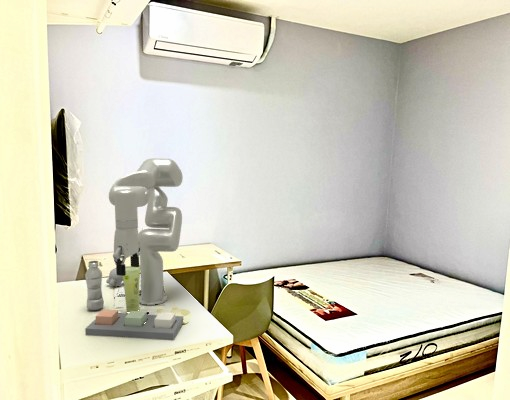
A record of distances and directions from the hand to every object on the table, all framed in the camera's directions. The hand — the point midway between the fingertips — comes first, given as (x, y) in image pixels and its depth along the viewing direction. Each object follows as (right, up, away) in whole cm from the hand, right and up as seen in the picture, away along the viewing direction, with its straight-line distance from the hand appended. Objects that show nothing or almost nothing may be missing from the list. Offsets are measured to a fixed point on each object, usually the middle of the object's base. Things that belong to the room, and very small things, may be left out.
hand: (128, 270), depth 147 cm
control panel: (+1, -22, +5) cm, 23 cm away
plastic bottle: (-20, -20, +22) cm, 36 cm away
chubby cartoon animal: (-19, -16, +50) cm, 55 cm away
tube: (-4, -20, +20) cm, 29 cm away
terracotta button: (-10, -20, +6) cm, 23 cm away
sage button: (+1, -20, +5) cm, 21 cm away
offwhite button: (+12, -21, +4) cm, 24 cm away
